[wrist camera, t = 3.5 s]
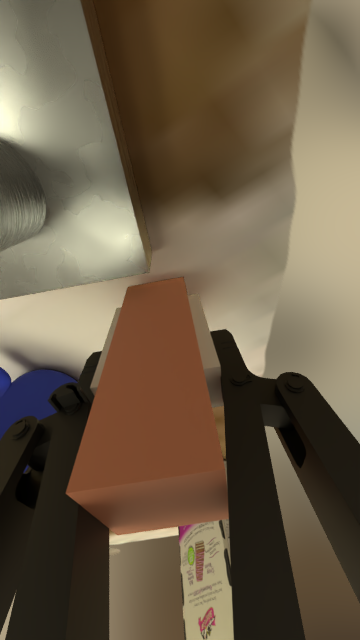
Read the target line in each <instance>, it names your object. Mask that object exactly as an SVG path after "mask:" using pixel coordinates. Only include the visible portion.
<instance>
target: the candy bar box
mask: <svg viewBox="0 0 360 640" xmlns="http://www.w3.org/2000/svg"><path fill="white" fill-rule="evenodd" d="M223 461H224V466H225V472H226V482H227V464H226V460H223ZM227 492H228V489H227ZM178 529H179V547H180V566H181V582H182V598H183V617H184V635H185V640H234V634H233V610H232V586H231V561H230V537H229V519H225V520H218V521H211V522H204V523H198V524H191V525H184V526H178Z"/></svg>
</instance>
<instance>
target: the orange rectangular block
mask: <svg viewBox="0 0 360 640" xmlns="http://www.w3.org/2000/svg"><path fill="white" fill-rule="evenodd" d="M66 494H67V495H68V496H69V497H71V498H72V499H73V500H74V501H76V502H77V503H78V504H79V505H81V506H82V507H83V508H84V509H86V510H87V511H88V512H89V513H90V514H92V515H93V516H94V517H95V518H97V519H98V520H99V521H100V522H102V523H103V524H104V525H105V526H107V527H108V528H109V529H110V530H112V531H113V532H114V533H115V534H117V535H122V534H129V533H136V532H143V531H150V530H156V529H163V528H170V527H177V526H184V525H191V524H198V523H204V522H211V521H218V520H225V519H229V513H228V492H227V482H226V472H225V466H224V461H223V456H222V452H221V447H220V443H219V438H218V433H217V429H216V424H215V420H214V415H213V410H212V406H211V401H210V397H209V392H208V387H207V383H206V378H205V374H204V369H203V364H202V360H201V355H200V351H199V346H198V342H197V337H196V332H195V328H194V323H193V319H192V314H191V309H190V305H189V300H188V296H187V291H186V286H185V282H184V277H180V278H174V279H168V280H163V281H157V282H152V283H146V284H141V285H135V286H130V287H128V288H127V291H126V295H125V298H124V301H123V304H122V308H121V311H120V314H119V318H118V321H117V324H116V328H115V331H114V334H113V338H112V341H111V344H110V348H109V351H108V354H107V358H106V361H105V364H104V368H103V371H102V374H101V377H100V381H99V384H98V387H97V391H96V394H95V397H94V401H93V404H92V407H91V411H90V414H89V417H88V421H87V424H86V427H85V431H84V434H83V437H82V441H81V444H80V447H79V450H78V454H77V457H76V460H75V464H74V467H73V470H72V474H71V477H70V480H69V484H68V487H67V490H66Z"/></svg>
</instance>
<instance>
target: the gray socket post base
mask: <svg viewBox="0 0 360 640" xmlns="http://www.w3.org/2000/svg"><path fill="white" fill-rule="evenodd" d="M151 257H152V250H151V246H150V242H149V237H148V233H147V229H146V225H145V220H144V216H143V212H142V207H141V203H140V199H139V195H138V190H137V186H136V182H135V177H134V173H133V169H132V165H131V160H130V156H129V152H128V147H127V143H126V139H125V135H124V130H123V126H122V122H121V117H120V113H119V109H118V105H117V100H116V96H115V92H114V87H113V83H112V79H111V75H110V70H109V66H108V62H107V57H106V53H105V49H104V45H103V40H102V36H101V32H100V27H99V23H98V19H97V15H96V10H95V6H94V2H93V0H0V300H1V299H7V298H12V297H18V296H23V295H29V294H34V293H40V292H45V291H51V290H56V289H62V288H67V287H73V286H78V285H84V284H89V283H95V282H100V281H105V280H111V279H116V278H122V277H127V276H133V275H138V274H144V273H149V271H150V264H151Z"/></svg>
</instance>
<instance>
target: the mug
mask: <svg viewBox="0 0 360 640" xmlns="http://www.w3.org/2000/svg"><path fill="white" fill-rule="evenodd" d="M70 382H74V383H78V382H77V381H76V380H75V379H73V378H72V377H70V376H68V375H66V374H64V373H61V372H58V371H54V370H35V371H31V372H28V373H25V374H23V375H22V376H20V377H19V378H17V379H16V380H15V381H13V382H12V383H11V378H10V376H9V374H8V373H7V372H6V371H5V370H4V369H2V368H1V367H0V440H1V438H2V437H3V435H4V434H5V432H6V431H7V430H8V428H9V427H10V426H11V425H12V424H14V423H15V422H16V421H18V420H19V419H21V418H23V417H26V416H35V417H36V418H37V419H38V420H41V419H43V418H46V417H48V416H50V415H52V414H54V413H56V412H57V411H56V410H55V409H54V408H53V407H52V405H51V404H50V403H49V402H48V399H49V397H50V395H51V394H52V393H53V391H54V390H56V389H57V388H58V387H60V386H61V385H64V384H66V383H70ZM28 467H29V466H28V465H27V466H26V468H25V470H24V472H23V473H25V472H26V470H27V469H28Z"/></svg>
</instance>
